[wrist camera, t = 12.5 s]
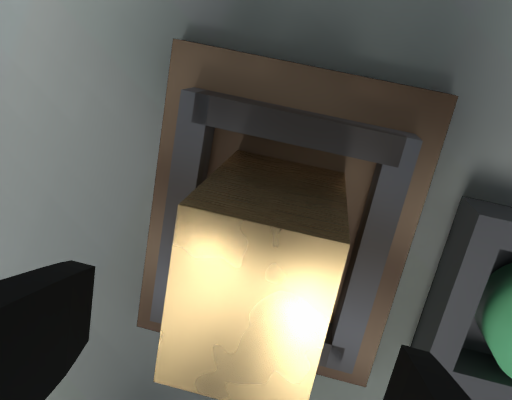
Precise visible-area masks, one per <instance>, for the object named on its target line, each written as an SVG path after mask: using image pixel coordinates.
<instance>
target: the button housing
mask: <svg viewBox="0 0 512 400" xmlns="http://www.w3.org/2000/svg"><path fill="white" fill-rule="evenodd" d="M510 263H512V207H509V206H504V205H500V204H495V203H491V202H486V201H482V200H477V199H473V198H468V197H464V196H462V199H461V202H460V205H459V208H458V211H457V214H456V217H455V219H454V222H453V225H452V228H451V231H450V234H449V237H448V240H447V243H446V246H445V248H444V251H443V254H442V257H441V260H440V263H439V266H438V269H437V272H436V275H435V277H434V280H433V283H432V286H431V289H430V292H429V295H428V298H427V301H426V304H425V307H424V309H423V312H422V315H421V318H420V321H419V324H418V327H417V330H416V333H415V336H414V338H413V341H412V344H411V347H412V348H416V349H420V350H424V351H428V352H430V353H431V354H432V355H433V356H434V357H435V358H436V359H437V360H438V361H439V362H440V363H441V365H442V366H443V367H444V368H445V369H446V370H447V371H448V373H449V374H450V375H451V376H452V377H453V378H454V380H455V381H456V382H457V383H458V384H459V385H460V387H461V388H462V389H463V390H464V391H465V392H466V394H467V395H468V396H469V397H470V398H471V399H472V400H512V378H510V377H509V376H508V375H507V374H506V373H505V372H504V371H503V370H502V369H501V368H500V366H499V365H498V363H497V361H496V359H495V358H494V356H493V354H492V352H491V350H490V348H489V346H488V344H487V343H486V341H485V339H484V337H483V335H482V333H481V331H480V329H479V328H478V326H477V323H476V320H475V316H474V315H475V312H476V310H477V307H478V305H479V302H480V299H481V297H482V294H483V292H484V289H485V286H486V284H487V281H488V279H489V276H490V275H491V274H492V273H494V272H495V271H496V270H498V269H499V268H501V267H503V266H505V265H507V264H510Z"/></svg>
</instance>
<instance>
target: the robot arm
mask: <svg viewBox="0 0 512 400" xmlns="http://www.w3.org/2000/svg"><path fill="white" fill-rule="evenodd" d="M94 275H95V266H91V265H87V264H83V263H79V262H75V261H66V262H61V263H57V264H53V265H49V266H46V267H42V268H39V269H36V270H32V271H29V272H26V273H22V274H19V275H16V276H12V277H9V278H6V279H2V280H0V400H45V399H46V398H47V397H48V396H49V395H50V393H51V392H52V391H53V390H54V389H55V388H56V386H57V385H58V384H59V383H60V382H61V380H62V379H63V378H64V377H65V376H66V374H67V373H68V371H69V370H70V368H71V367H72V365H73V364H74V362H75V361H76V359H77V358H78V356H79V355H80V353H81V351H82V350H83V348H84V347H85V345H86V344H87V342H88V340H89V330H90V319H91V308H92V297H93V286H94ZM383 400H472V399H471V398H470V397H469V396H468V395H467V394H466V392H465V391H464V390H463V389H462V388H461V387H460V385H459V384H458V383H457V382H456V381H455V380H454V378H453V377H452V376H451V375H450V374H449V373H448V371H447V370H446V369H445V368H444V367H443V366H442V365H441V363H440V362H439V361H438V360H437V359H436V358H435V357H434V356H433V355H432V354H431V353H430V352H428V351H424V350H420V349H416V348H412V347H409V346H405V345H401V348H400V351H399V354H398V357H397V360H396V363H395V366H394V369H393V372H392V375H391V378H390V381H389V384H388V387H387V390H386V393H385V396H384V399H383Z"/></svg>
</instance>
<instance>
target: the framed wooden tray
mask: <svg viewBox="0 0 512 400" xmlns="http://www.w3.org/2000/svg"><path fill="white" fill-rule="evenodd" d="M457 99H458V96H456V95H452V94H448V93H443V92H438V91H433V90H428V89H423V88H418V87H413V86H408V85H403V84H398V83H393V82H388V81H383V80H378V79H373V78H368V77H363V76H358V75H353V74H349V73H344V72H339V71H334V70H329V69H324V68H319V67H314V66H309V65H304V64H299V63H294V62H289V61H284V60H279V59H274V58H269V57H264V56H259V55H254V54H249V53H244V52H240V51H235V50H230V49H225V48H220V47H215V46H210V45H205V44H200V43H195V42H190V41H185V40H179V39H173V44H172V51H171V59H170V67H169V75H168V83H167V91H166V99H165V107H164V115H163V123H162V130H161V138H160V146H159V154H158V162H157V170H156V178H155V186H154V194H153V202H152V209H151V217H150V225H149V233H148V241H147V249H146V257H145V265H144V273H143V281H142V289H141V296H140V304H139V312H138V320H137V327H141V328H145V329H149V330H152V331H156V332H160V331H161V324H162V317H163V310H164V303H165V295H166V288H167V281H168V274H169V267H170V259H171V252H172V245H173V238H174V231H175V224H176V216H177V209H178V204H180V203H181V202H182V201H183V200H184V199H185V198H186V197H187V196H188V195H189V194H190V193H191V192H193V191H194V190H195V189H196V188H197V187H198V186H199V185H200V184H201V183H202V182H203V181H204V180H206V179H207V178H208V177H209V176H210V175H211V174H212V173H213V172H214V171H215V170H216V169H217V168H219V167H220V166H221V165H222V164H223V163H224V162H225V161H226V160H227V159H228V158H229V157H230V156H232V155H233V154H234V153H235V152H236V151H237V150H242V151H247V152H251V153H256V154H260V155H265V156H270V157H274V158H279V159H283V160H288V161H293V162H297V163H302V164H306V165H311V166H316V167H320V168H325V169H329V170H334V171H339V172H343V173H345V184H346V196H347V209H348V222H349V234H350V248H349V252H348V255H347V259H346V263H345V266H344V270H343V274H342V278H341V281H340V285H339V289H338V293H337V296H336V300H335V304H334V307H333V311H332V315H331V319H330V322H329V326H328V330H327V334H326V337H325V341H324V345H323V348H322V352H321V356H320V360H319V363H318V367H317V371H316V374H318V375H322V376H325V377H329V378H333V379H337V380H340V381H344V382H348V383H352V384H355V385H359V386H363V387H366V384H367V381H368V378H369V375H370V372H371V369H372V366H373V362H374V359H375V356H376V353H377V350H378V347H379V344H380V341H381V337H382V334H383V331H384V328H385V325H386V322H387V319H388V315H389V312H390V309H391V306H392V303H393V300H394V297H395V294H396V290H397V287H398V284H399V281H400V278H401V275H402V272H403V268H404V265H405V262H406V259H407V256H408V253H409V250H410V247H411V243H412V240H413V237H414V234H415V231H416V228H417V225H418V221H419V218H420V215H421V212H422V209H423V206H424V203H425V199H426V196H427V193H428V190H429V187H430V184H431V181H432V178H433V174H434V171H435V168H436V165H437V162H438V159H439V156H440V152H441V149H442V146H443V143H444V140H445V137H446V134H447V131H448V127H449V124H450V121H451V118H452V115H453V112H454V109H455V105H456V102H457Z"/></svg>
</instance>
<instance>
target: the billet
mask: <svg viewBox="0 0 512 400" xmlns="http://www.w3.org/2000/svg"><path fill="white" fill-rule="evenodd" d="M349 248H350V234H349V222H348V209H347V196H346V184H345V173H343V172H339V171H334V170H329V169H325V168H320V167H316V166H311V165H306V164H302V163H297V162H293V161H288V160H283V159H279V158H274V157H270V156H265V155H260V154H256V153H251V152H247V151H242V150H237V151H236V152H235V153H234V154H233V155H232V156H230V157H229V158H228V159H227V160H226V161H225V162H224V163H223V164H222V165H221V166H220V167H219V168H217V169H216V170H215V171H214V172H213V173H212V174H211V175H210V176H209V177H208V178H207V179H206V180H204V181H203V182H202V183H201V184H200V185H199V186H198V187H197V188H196V189H195V190H194V191H193V192H191V193H190V194H189V195H188V196H187V197H186V198H185V199H184V200H183V201H182V202H181V203H180V204H178V209H177V216H176V224H175V231H174V238H173V245H172V252H171V259H170V267H169V274H168V281H167V288H166V295H165V303H164V310H163V317H162V324H161V331H160V338H159V346H158V353H157V360H156V367H155V374H154V381H153V382H156V383H160V384H163V385H167V386H171V387H174V388H178V389H182V390H185V391H189V392H193V393H196V394H200V395H204V396H208V397H211V398H215V399H219V400H309V397H310V393H311V389H312V386H313V382H314V378H315V374H316V371H317V367H318V363H319V360H320V356H321V352H322V348H323V345H324V341H325V337H326V334H327V330H328V326H329V322H330V319H331V315H332V311H333V307H334V304H335V300H336V296H337V293H338V289H339V285H340V281H341V278H342V274H343V270H344V266H345V263H346V259H347V255H348V252H349Z"/></svg>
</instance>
